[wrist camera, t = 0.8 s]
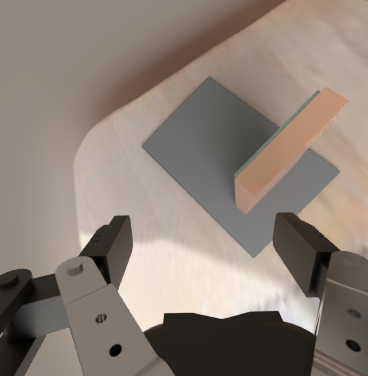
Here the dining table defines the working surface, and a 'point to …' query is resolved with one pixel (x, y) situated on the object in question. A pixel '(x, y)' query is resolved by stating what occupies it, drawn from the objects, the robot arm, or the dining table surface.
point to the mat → (231, 163)
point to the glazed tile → (285, 148)
